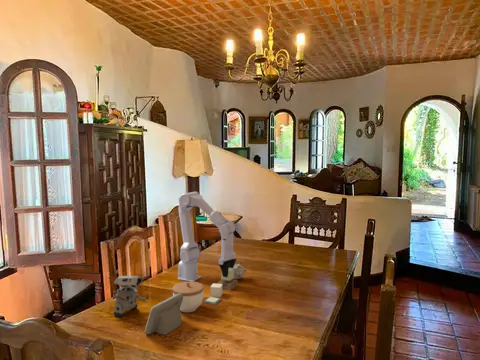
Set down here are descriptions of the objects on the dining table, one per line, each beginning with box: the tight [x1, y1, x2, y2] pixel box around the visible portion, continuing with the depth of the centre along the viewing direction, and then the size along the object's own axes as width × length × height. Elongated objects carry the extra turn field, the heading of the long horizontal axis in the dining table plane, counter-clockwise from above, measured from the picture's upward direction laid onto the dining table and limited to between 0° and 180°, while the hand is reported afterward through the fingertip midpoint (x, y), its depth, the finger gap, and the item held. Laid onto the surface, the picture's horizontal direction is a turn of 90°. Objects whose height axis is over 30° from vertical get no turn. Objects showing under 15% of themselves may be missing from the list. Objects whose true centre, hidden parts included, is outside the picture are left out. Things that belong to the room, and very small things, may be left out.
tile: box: [202, 296, 223, 306], centre depth 150 cm, size 6×6×1 cm
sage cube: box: [220, 268, 234, 281], centre depth 166 cm, size 4×4×4 cm
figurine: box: [112, 274, 149, 318], centre depth 139 cm, size 9×12×15 cm
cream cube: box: [209, 283, 224, 298], centre depth 157 cm, size 4×4×4 cm
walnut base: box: [216, 279, 238, 291], centre depth 167 cm, size 7×7×3 cm
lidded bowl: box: [171, 281, 205, 313], centre depth 143 cm, size 13×13×11 cm
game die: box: [233, 262, 247, 280], centre depth 177 cm, size 9×8×10 cm
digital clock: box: [144, 293, 183, 336], centre depth 127 cm, size 16×9×11 cm, turn 138°
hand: (227, 275), depth 166 cm, fingers closed on sage cube, 4 cm apart
